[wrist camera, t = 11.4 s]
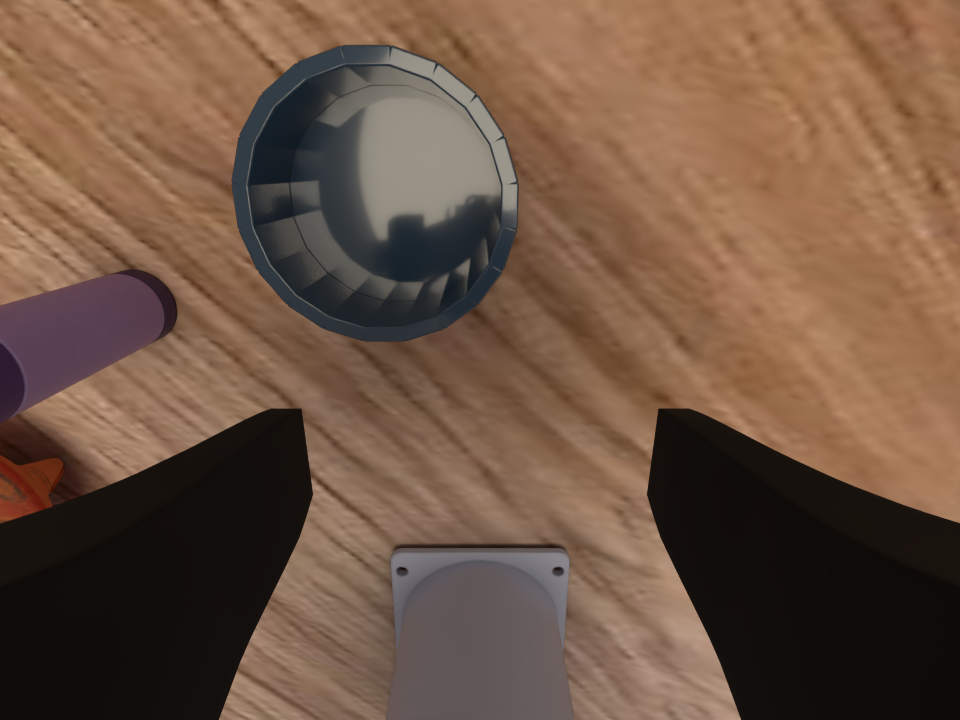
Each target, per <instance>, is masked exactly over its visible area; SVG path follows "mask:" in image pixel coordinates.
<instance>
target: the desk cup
mask: <svg viewBox="0 0 960 720" xmlns="http://www.w3.org/2000/svg"><path fill="white" fill-rule="evenodd" d="M297 63H298V64H297ZM297 63H295V64H294V65H293V66H292V67H291V68H289V69H288V70H287V71H286V72H285V73H284V74H283V75H282V76H280V77H279V78H278V79H277V80H276V81H275V82H274V83H273V84H272V85H270V86H269V87H268V88H267V89H266V90H265V91H264V92H263V93H262V95H260V97H259V99H258V101H257V102H256V104H255V106H254V108H253V110H252V112H251V114H250V116H249V117H248V119H247V121H246V123H245V125H244V127H243V129H242V131H241V133H240V135H239V136H240V137H239V138H238V144H237V150H236V156H235V162H234V169H233V175H232V191H233V198H234V205H235V211H236V218H237V225H238V229H239V232H240V234H241V237H242V239H243V241H244V243H245V245H246V247H247V249H248V252H249V254H250V256H251V258H252V260H253V262H254V265H255V267H256V269H257V270H258V271H259V273H260V275H261V276H262V277H263V278H264V279H265V280H266V281H267V283H268V284H269V285H270V286H271V287H272V288H273V290H274V291H275V292H276V293H277V294H278V295H279V296H280V298H281V299H282V300H283V301H284V302H285V303H286V304H287V305H288V306H289V307H290V308H292V309H293V310H295V311H297V312H298V313H300V314H301V315H303V316H304V317H306V318H307V319H309V320H310V321H312V322H313V323H315V324H317V325H318V326H320V327H321V328H323V329H325V330H328V331H331V332H335V333H338V334H341V335H345V336H348V337H351V338H355V339H358V340H361V341H366V342H404V341H405V340H406V341H409V340H412V339H415V338H418V337H421V336H424V335H428V334H431V333H434V332H437V331H440V330H443V329H444V328H447V327H448V326H450V325H451V324H452V323H454V322H455V321H457V320H458V319H459V318H461V317H462V316H464V315H465V314H467V313H468V312H469V311H471V310H472V309H474V308H475V307H476V306H477V304H479V303H480V302H481V301H482V299H483V298H484V297H485V295H486V294H487V293H488V291H489V290H490V289H491V287H492V286H493V284H494V283H495V282H496V280H497V279H498V278H499V276H500V275H501V274H502V271H503V270H504V268H505V265H506V262H507V259H508V256H509V253H510V250H511V247H512V244H513V241H514V238H515V235H516V233H517V228H518V190H519V184H518V179H517V175H516V172H515V168H514V165H513V161H512V158H511V154H510V151H509V147H508V144H507V140H506V138H505V137H504V133H503V132H502V130H501V129H500V127H499V126H498V124H497V123H496V121H495V119H494V118H493V116H492V115H491V113H490V112H489V110H488V109H487V107H486V106H485V104H484V103H483V101H482V100H481V98H480V97H479V96H478V95H477V93H476V92H475V91H474V90H472V89H471V88H470V87H469V86H467V85H466V84H465V83H464V82H462V81H461V80H460V79H459V78H457V77H456V76H455V75H454V74H452V73H451V72H450V71H449V70H447V69H446V68H445V67H444V66H442V65H441V64H440V63H437V62H436V61H434V60H431V59H428V58H426V57H423V56H420V55H417V54H415V53H412V52H409V51H406V50H404V49H401V48H398V47H395V46H390V45H343V46H337V47H335V48H332V49H330V50H327V51H324V52H322V53H319V54H316V55H314V56H311V57H309V58H306V59H303V60H301V61H298V62H297Z"/></svg>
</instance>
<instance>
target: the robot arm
mask: <svg viewBox="0 0 960 720" xmlns="http://www.w3.org/2000/svg"><path fill="white" fill-rule="evenodd" d="M312 496H313V491H312V483H311V476H310V469H309V461H308V454H307V446H306V439H305V431H304V424H303V416H302V409H269V410H266V411H263V412H261V413H258V414H256V415H254V416H252V417H250V418H248V419H246V420H244V421H242V422H240V423H238V424H236V425H234V426H232V427H230V428H228V429H226V430H224V431H222V432H220V433H218V434H216V435H214V436H212V437H210V438H209V439H207V440H205V441H203V442H201V443H199V444H197V445H195V446H193V447H191V448H189V449H187V450H185V451H183V452H181V453H179V454H177V455H175V456H172V457H170V458H168V459H166V460H164V461H162V462H160V463H158V464H156V465H153V466H151V467H149V468H147V469H145V470H143V471H141V472H139V473H137V474H134V475H132V476H130V477H127V478H125V479H123V480H120V481H118V482H116V483H113V484H111V485H108V486H106V487H103V488H101V489H98V490H96V491H93V492H91V493H88V494H85V495H83V496H80V497H78V498H75V499H72V500H70V501H67V502H64V503H61V504H59V505H56V506H53V507H49V508H46V509H43V510H40V511H37V512H34V513H31V514H28V515H25V516H22V517H19V518H15V519H12V520H9V521H6V522H3V523H0V720H219V718H220V715H221V712H222V709H223V707H224V704H225V701H226V699H227V696H228V693H229V691H230V688H231V685H232V682H233V680H234V677H235V674H236V672H237V669H238V666H239V664H240V661H241V659H242V656H243V654H244V652H245V650H246V647H247V645H248V643H249V640H250V638H251V636H252V634H253V632H254V630H255V628H256V626H257V624H258V622H259V620H260V618H261V616H262V614H263V612H264V610H265V608H266V606H267V603H268V601H269V599H270V597H271V595H272V593H273V591H274V589H275V587H276V585H277V583H278V581H279V579H280V577H281V575H282V573H283V571H284V569H285V567H286V565H287V563H288V560H289V558H290V556H291V554H292V552H293V550H294V548H295V546H296V544H297V541H298V539H299V537H300V534H301V531H302V528H303V525H304V522H305V519H306V516H307V513H308V509H309V506H310V503H311V499H312ZM647 496H648V499H649V503H650V506H651V509H652V513H653V516H654V519H655V522H656V525H657V528H658V531H659V534H660V537H661V539H662V541H663V544H664V546H665V548H666V550H667V552H668V554H669V556H670V558H671V560H672V563H673V565H674V567H675V569H676V571H677V573H678V575H679V577H680V579H681V581H682V583H683V585H684V587H685V589H686V591H687V593H688V595H689V597H690V599H691V601H692V603H693V606H694V608H695V610H696V612H697V614H698V616H699V618H700V620H701V622H702V624H703V626H704V628H705V630H706V632H707V634H708V636H709V638H710V640H711V643H712V645H713V647H714V650H715V652H716V654H717V656H718V659H719V661H720V664H721V666H722V669H723V672H724V674H725V677H726V680H727V682H728V685H729V688H730V691H731V693H732V696H733V699H734V701H735V704H736V707H737V709H738V712H739V715H740V718H741V720H960V523H957V522H954V521H951V520H948V519H944V518H941V517H938V516H935V515H932V514H928V513H925V512H922V511H919V510H917V509H914V508H911V507H908V506H905V505H902V504H899V503H896V502H894V501H891V500H889V499H886V498H883V497H881V496H878V495H875V494H873V493H870V492H868V491H865V490H862V489H860V488H857V487H854V486H852V485H850V484H847V483H845V482H842V481H840V480H838V479H835V478H833V477H831V476H829V475H826V474H824V473H822V472H820V471H818V470H815V469H813V468H811V467H809V466H807V465H804V464H802V463H800V462H798V461H796V460H794V459H792V458H790V457H788V456H785V455H783V454H781V453H779V452H777V451H775V450H773V449H771V448H769V447H767V446H765V445H763V444H761V443H760V442H758V441H756V440H754V439H752V438H750V437H748V436H746V435H744V434H742V433H740V432H738V431H736V430H734V429H732V428H730V427H729V426H727V425H725V424H723V423H721V422H719V421H717V420H715V419H713V418H711V417H708V416H706V415H704V414H702V413H699V412H697V411H694V410H691V409H658V416H657V424H656V431H655V439H654V446H653V454H652V461H651V468H650V476H649V483H648V491H647ZM569 563H570V561H569V556H568V553H567V552H566V551H565V550H564V549H561V548H399V549H397V550H395V551H394V552H393V553H392V557H391V576H392V591H393V605H394V620H395V634H396V649H397V655H396V661H395V666H394V672H393V678H392V684H391V690H390V695H389V701H388V707H387V713H386V719H385V720H575V718H574V712H573V706H572V700H571V695H570V689H569V683H568V677H567V671H566V666H565V660H564V654H563V650H564V636H565V621H566V607H567V592H568V578H569ZM399 567H405V568H406V569H407V570H401V569H399ZM555 567H561V569H560V570H554V568H555Z"/></svg>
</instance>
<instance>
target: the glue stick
mask: <svg viewBox="0 0 960 720" xmlns="http://www.w3.org/2000/svg"><path fill="white" fill-rule="evenodd" d="M175 320H176V305H175V302H174V299H173V297H172V295H171V293H170V291H169V290H168V289H167V287H166V286H165V285H164V284H163V283H162V282H161V281H160V280H158V279H157V278H155V277H154V276H152V275H150V274H148V273H145V272H142V271H138V270H124V271H120V272H117V273H113V274H110V275H106V276H103V277H99V278H96V279H92V280H88V281H85V282H81V283H78V284H74V285H71V286H67V287H64V288H60V289H57V290H53V291H50V292H46V293H43V294H39V295H36V296H32V297H29V298H25V299H22V300H18V301H15V302H11V303H8V304H4V305H1V306H0V423H2V422H4V421H5V420H7V419H9V418H11V417H13V416H15V415H17V414H19V413H21V412H22V411H24V410H26V409H28V408H30V407H32V406H34V405H36V404H38V403H39V402H41V401H43V400H45V399H47V398H49V397H51V396H53V395H55V394H56V393H58V392H60V391H62V390H64V389H66V388H68V387H70V386H72V385H73V384H75V383H77V382H79V381H81V380H83V379H85V378H87V377H89V376H90V375H92V374H94V373H96V372H98V371H100V370H102V369H104V368H105V367H107V366H109V365H111V364H113V363H115V362H117V361H119V360H121V359H122V358H124V357H126V356H128V355H130V354H132V353H134V352H136V351H138V350H139V349H141V348H143V347H145V346H147V345H149V344H151V343H153V342H155V341H156V340H158V339H160V338H162V337H164V336H165V335H167V334H168V333H169V332H170V330H171V329H172V327H173V325H174V323H175Z"/></svg>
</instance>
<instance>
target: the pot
mask: <svg viewBox="0 0 960 720" xmlns="http://www.w3.org/2000/svg"><path fill="white" fill-rule="evenodd" d="M63 464H64V463H63V462H62V461H61V460H60V459H58V458H50V459H45V460H42V461H38V462H34V463H29V464H25V465H16V464H14V463H13V462H11V461H10V460H8V459H6V458H5V457H3V456H1V455H0V523H3V522H6V521H9V520H12V519H15V518H19V517H22V516H25V515H28V514H31V513H34V512H37V511H40V510H43V509H46V508H49V507H53V505H52V503H51V501H50V499H49V493H50V492H52V491H53V489H54V487H55V486H56V484H57V483H58V481H59V479H60V478H61V476H62V475H63V473H64V471H65V468H64V467H63Z"/></svg>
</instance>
